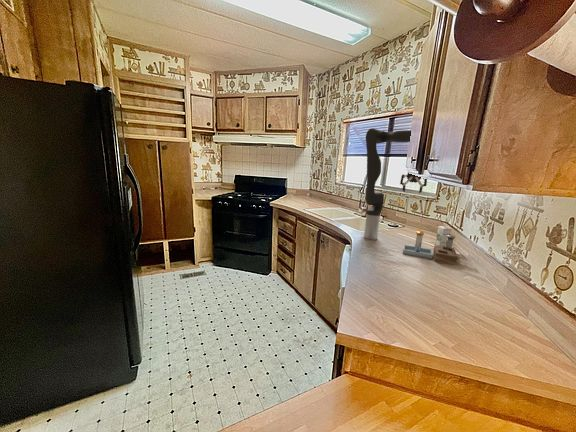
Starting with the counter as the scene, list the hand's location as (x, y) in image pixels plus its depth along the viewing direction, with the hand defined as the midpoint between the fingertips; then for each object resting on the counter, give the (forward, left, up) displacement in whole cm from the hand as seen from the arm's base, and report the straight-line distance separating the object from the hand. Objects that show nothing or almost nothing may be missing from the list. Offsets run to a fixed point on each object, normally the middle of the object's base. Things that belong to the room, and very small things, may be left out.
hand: (411, 192), depth 149 cm
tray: (+6, +8, -36) cm, 37 cm away
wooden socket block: (+6, +22, -36) cm, 43 cm away
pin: (+2, +24, -36) cm, 43 cm away
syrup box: (-13, +22, -36) cm, 44 cm away
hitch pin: (+6, +8, -35) cm, 37 cm away
